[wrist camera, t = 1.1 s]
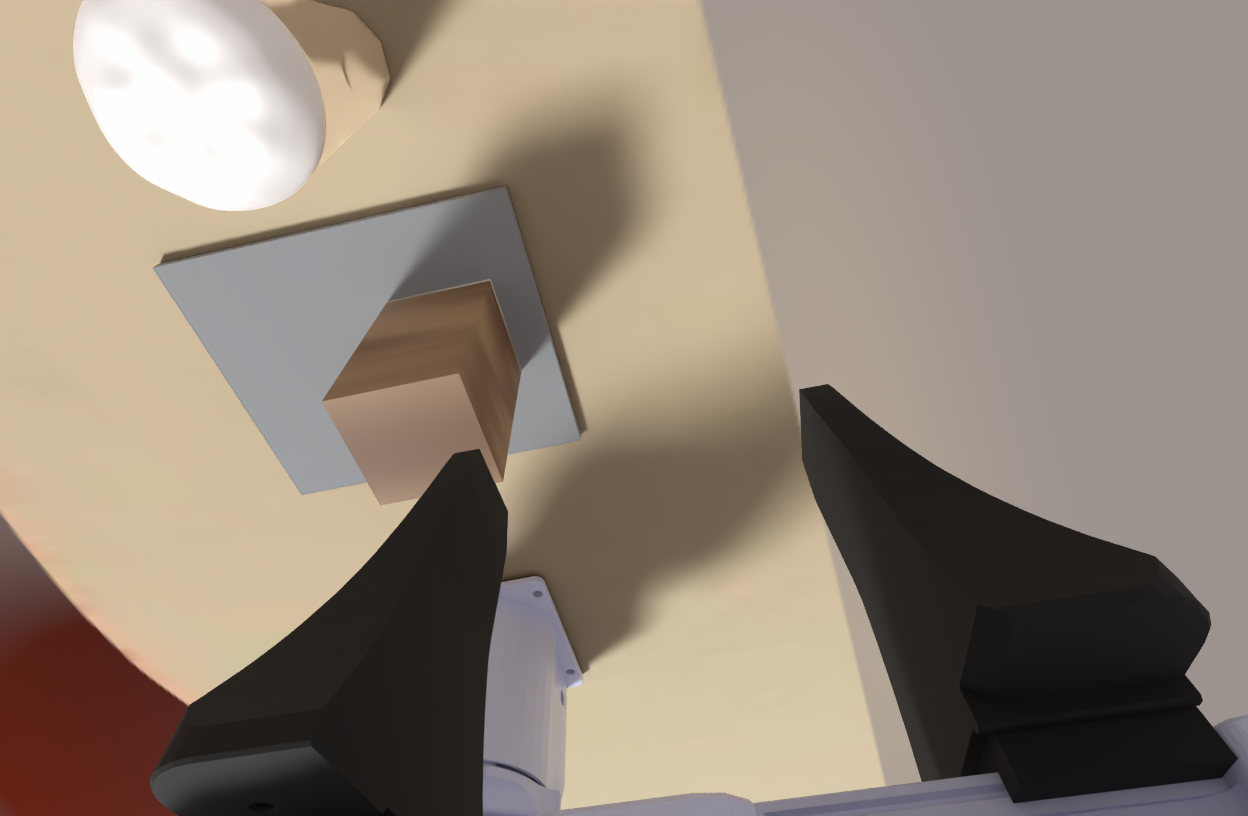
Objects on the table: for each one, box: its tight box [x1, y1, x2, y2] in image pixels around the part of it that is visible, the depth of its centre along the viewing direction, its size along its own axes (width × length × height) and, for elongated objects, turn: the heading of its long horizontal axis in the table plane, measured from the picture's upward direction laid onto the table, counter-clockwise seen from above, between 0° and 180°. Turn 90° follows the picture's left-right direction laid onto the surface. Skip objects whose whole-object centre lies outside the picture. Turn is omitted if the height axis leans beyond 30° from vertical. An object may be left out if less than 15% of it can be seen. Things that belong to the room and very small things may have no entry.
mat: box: [153, 186, 581, 495], centre depth 25 cm, size 11×13×1 cm
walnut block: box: [322, 279, 522, 505], centre depth 21 cm, size 4×4×7 cm
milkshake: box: [73, 0, 390, 211], centre depth 15 cm, size 4×5×10 cm
